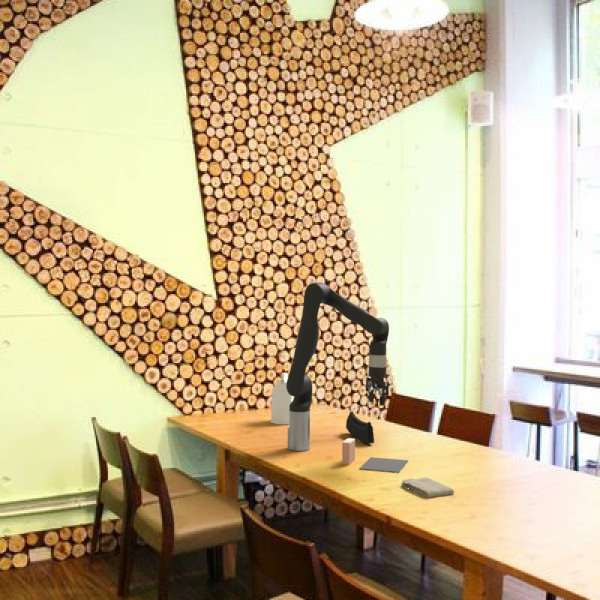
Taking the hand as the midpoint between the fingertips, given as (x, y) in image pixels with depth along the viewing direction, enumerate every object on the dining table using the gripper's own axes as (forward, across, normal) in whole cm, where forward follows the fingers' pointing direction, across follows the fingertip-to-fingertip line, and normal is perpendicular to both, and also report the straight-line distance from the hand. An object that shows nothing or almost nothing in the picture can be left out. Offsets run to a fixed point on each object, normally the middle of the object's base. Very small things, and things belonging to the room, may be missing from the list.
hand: (376, 403), depth 310 cm
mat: (+23, +11, -3) cm, 26 cm away
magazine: (+24, -37, +14) cm, 46 cm away
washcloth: (+23, +48, -9) cm, 54 cm away
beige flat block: (+24, +1, -13) cm, 27 cm away
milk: (+25, -91, 0) cm, 94 cm away
